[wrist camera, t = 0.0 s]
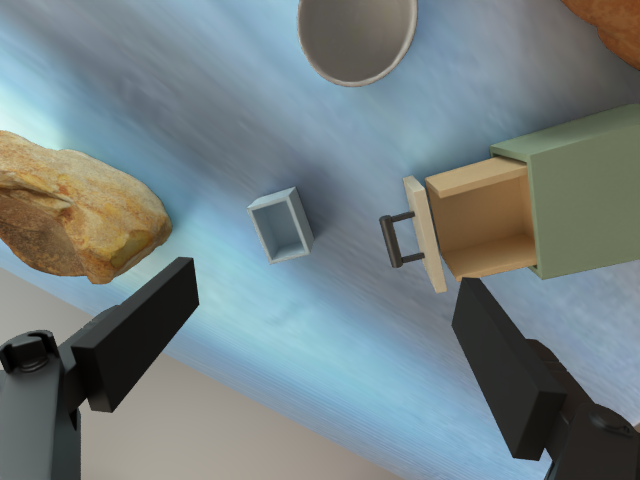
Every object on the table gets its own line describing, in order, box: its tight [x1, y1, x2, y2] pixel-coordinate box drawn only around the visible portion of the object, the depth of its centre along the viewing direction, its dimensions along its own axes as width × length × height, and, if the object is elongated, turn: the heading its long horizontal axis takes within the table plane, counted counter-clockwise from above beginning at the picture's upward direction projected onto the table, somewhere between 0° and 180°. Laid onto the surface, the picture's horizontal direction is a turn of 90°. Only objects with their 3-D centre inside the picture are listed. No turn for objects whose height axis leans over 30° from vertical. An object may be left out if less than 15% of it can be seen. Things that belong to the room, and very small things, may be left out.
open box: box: [247, 187, 314, 265], centre depth 42 cm, size 8×6×5 cm
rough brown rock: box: [0, 130, 172, 284], centre depth 40 cm, size 23×17×15 cm
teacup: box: [297, 0, 418, 87], centre depth 31 cm, size 14×11×8 cm
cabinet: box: [489, 104, 640, 280], centre depth 35 cm, size 15×14×10 cm
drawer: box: [379, 155, 537, 293], centre depth 37 cm, size 18×12×8 cm
